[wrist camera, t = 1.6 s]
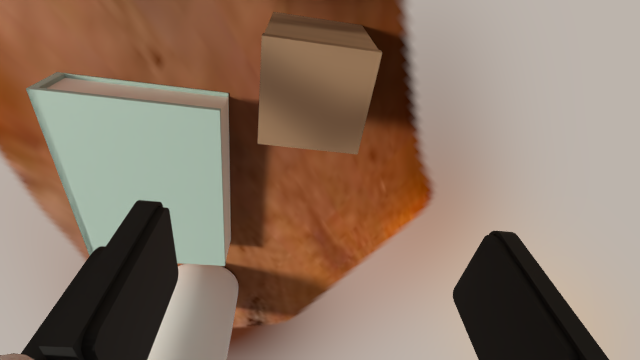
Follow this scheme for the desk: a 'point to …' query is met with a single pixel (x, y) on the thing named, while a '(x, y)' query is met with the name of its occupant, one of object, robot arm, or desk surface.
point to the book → (141, 157)
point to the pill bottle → (198, 315)
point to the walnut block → (315, 83)
